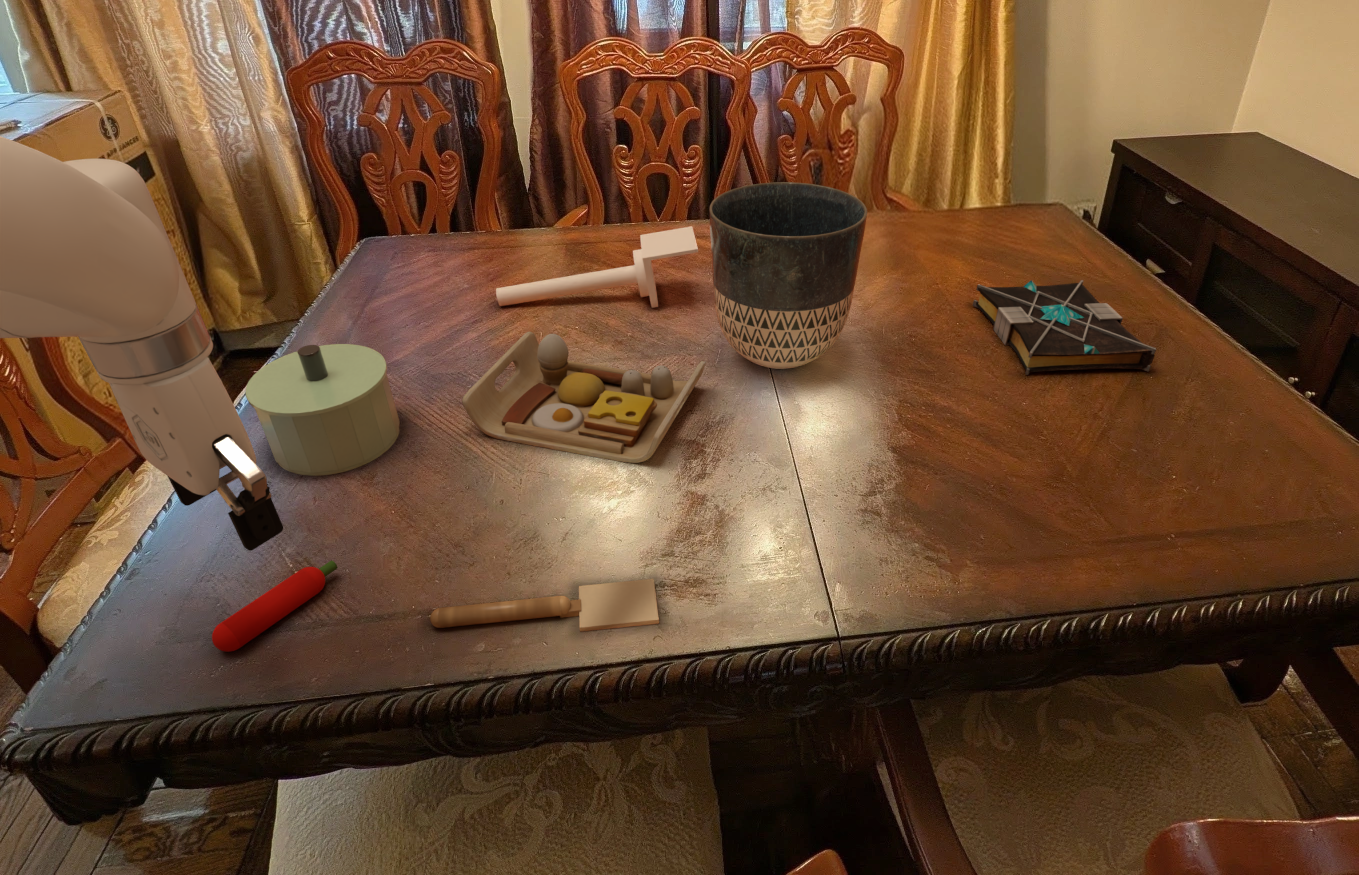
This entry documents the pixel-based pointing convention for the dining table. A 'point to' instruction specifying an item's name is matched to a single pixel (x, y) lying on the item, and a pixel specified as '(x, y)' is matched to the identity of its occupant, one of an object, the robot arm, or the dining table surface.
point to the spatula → (566, 608)
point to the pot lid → (316, 380)
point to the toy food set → (576, 402)
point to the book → (1061, 328)
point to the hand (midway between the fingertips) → (232, 517)
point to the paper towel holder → (610, 271)
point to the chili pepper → (270, 607)
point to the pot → (334, 435)
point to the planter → (784, 268)
